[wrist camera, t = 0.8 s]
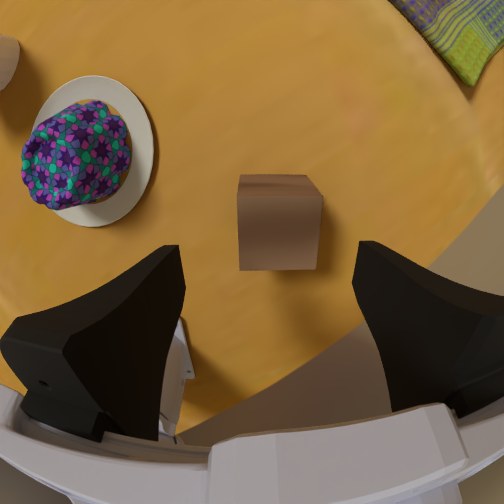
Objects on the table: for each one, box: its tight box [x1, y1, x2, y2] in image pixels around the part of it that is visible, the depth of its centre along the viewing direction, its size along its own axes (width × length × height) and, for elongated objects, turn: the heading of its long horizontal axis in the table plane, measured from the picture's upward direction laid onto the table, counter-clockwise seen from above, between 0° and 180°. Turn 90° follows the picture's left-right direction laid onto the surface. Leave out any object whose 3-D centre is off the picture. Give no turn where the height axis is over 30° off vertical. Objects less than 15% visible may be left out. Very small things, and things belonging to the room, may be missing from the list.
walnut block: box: [237, 174, 323, 271], centre depth 18 cm, size 4×4×5 cm
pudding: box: [21, 75, 154, 227], centre depth 15 cm, size 12×12×5 cm
